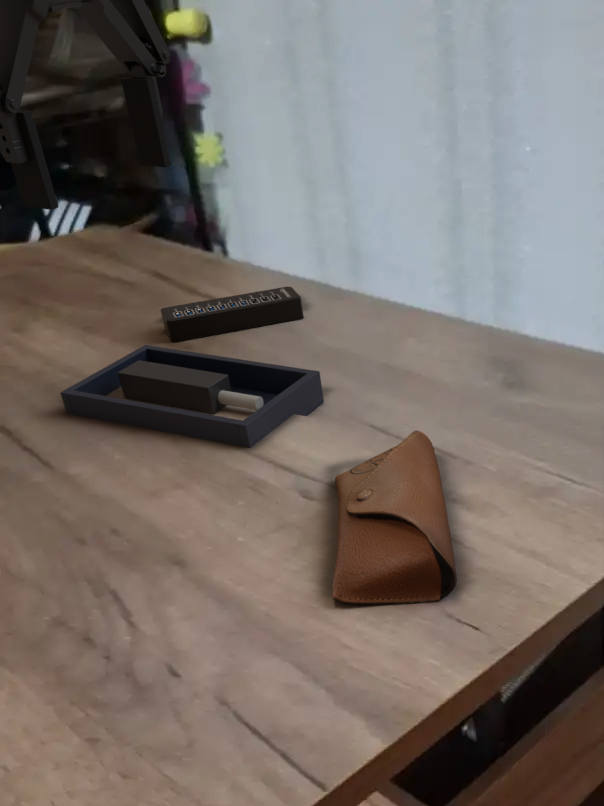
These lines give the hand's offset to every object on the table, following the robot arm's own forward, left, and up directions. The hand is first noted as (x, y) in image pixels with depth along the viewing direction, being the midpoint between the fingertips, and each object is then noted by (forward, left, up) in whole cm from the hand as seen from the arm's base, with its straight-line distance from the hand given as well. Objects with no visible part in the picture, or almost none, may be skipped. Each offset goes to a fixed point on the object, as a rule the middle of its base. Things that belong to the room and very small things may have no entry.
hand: (102, 185), depth 77 cm
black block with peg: (+5, -1, -18) cm, 19 cm away
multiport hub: (-5, +19, -19) cm, 27 cm away
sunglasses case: (+31, -13, -19) cm, 39 cm away
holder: (+5, -1, -19) cm, 19 cm away
